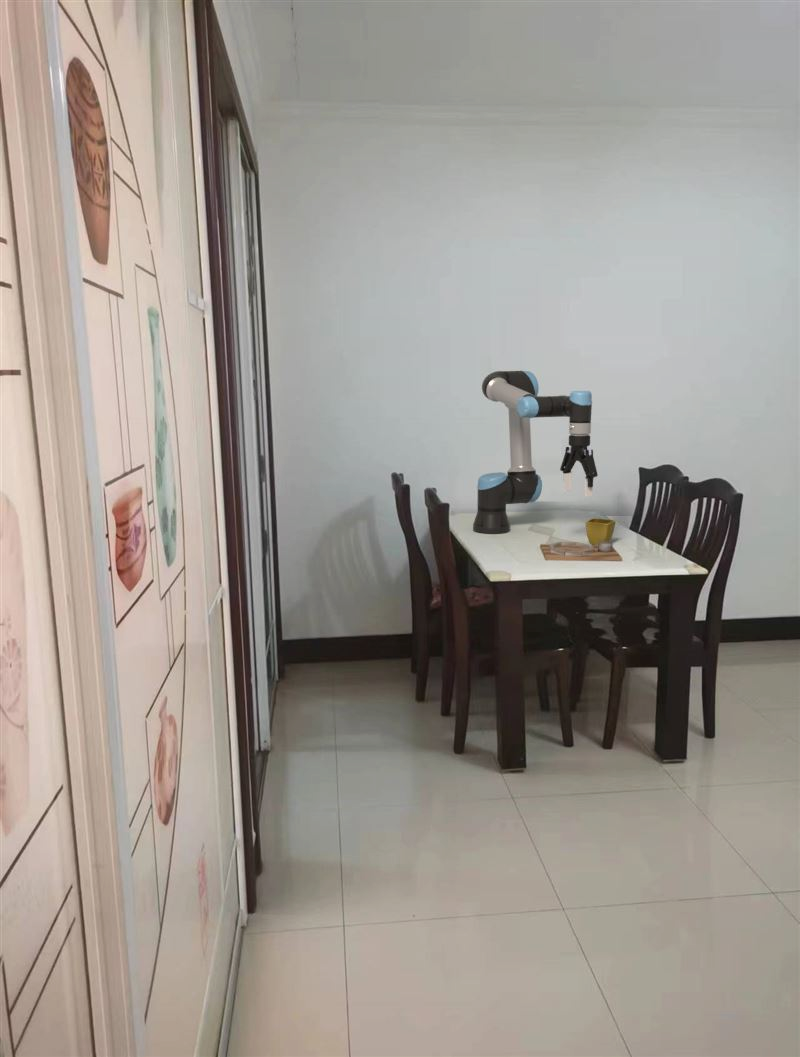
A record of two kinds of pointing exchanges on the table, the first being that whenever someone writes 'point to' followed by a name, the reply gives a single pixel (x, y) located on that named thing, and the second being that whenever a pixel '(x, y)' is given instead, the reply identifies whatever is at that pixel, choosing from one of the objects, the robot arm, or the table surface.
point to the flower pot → (599, 530)
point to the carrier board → (580, 551)
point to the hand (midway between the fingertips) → (577, 493)
